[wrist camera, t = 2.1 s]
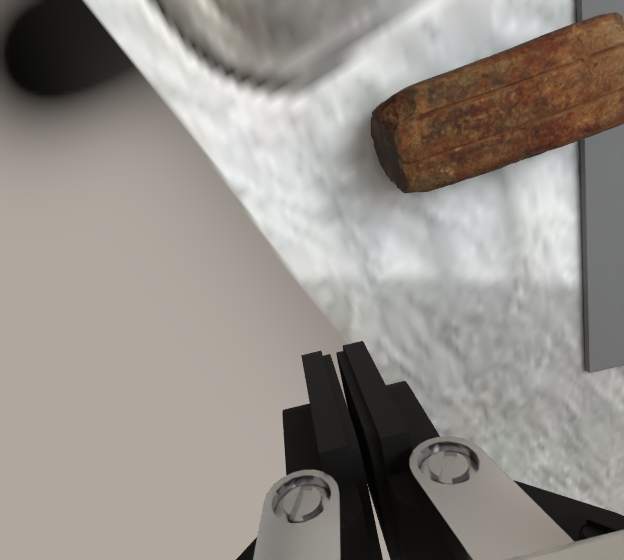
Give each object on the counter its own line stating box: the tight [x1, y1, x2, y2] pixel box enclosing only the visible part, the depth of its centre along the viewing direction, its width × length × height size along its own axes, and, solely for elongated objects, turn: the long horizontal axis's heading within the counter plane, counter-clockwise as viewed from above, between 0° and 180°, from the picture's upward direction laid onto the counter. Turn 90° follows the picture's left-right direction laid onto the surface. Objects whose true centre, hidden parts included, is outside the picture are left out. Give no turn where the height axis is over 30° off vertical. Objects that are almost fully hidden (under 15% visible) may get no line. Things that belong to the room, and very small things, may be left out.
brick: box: [371, 12, 624, 193], centre depth 20 cm, size 11×4×5 cm
